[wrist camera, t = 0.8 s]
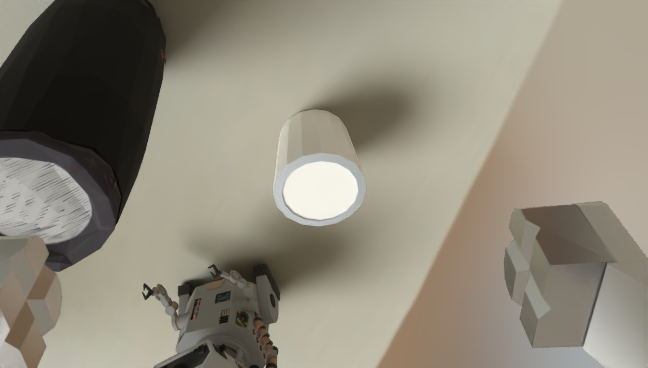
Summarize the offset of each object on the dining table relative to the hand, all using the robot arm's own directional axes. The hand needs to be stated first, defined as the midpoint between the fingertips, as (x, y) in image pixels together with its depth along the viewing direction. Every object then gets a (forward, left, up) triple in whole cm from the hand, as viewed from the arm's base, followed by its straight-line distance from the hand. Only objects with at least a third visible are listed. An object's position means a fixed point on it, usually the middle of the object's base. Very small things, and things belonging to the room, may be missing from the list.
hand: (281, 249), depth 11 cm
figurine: (+20, -30, -34) cm, 49 cm away
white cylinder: (+16, -13, -34) cm, 40 cm away
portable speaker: (-1, -16, -34) cm, 37 cm away
